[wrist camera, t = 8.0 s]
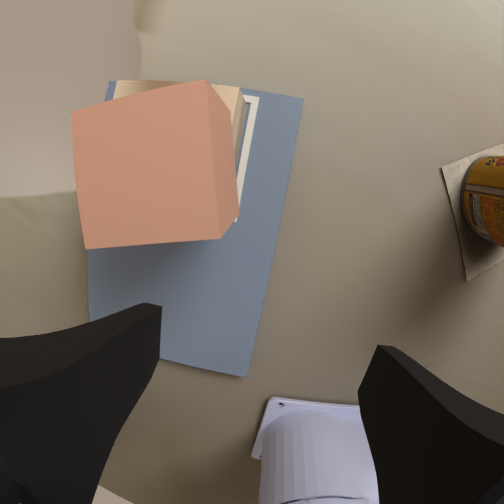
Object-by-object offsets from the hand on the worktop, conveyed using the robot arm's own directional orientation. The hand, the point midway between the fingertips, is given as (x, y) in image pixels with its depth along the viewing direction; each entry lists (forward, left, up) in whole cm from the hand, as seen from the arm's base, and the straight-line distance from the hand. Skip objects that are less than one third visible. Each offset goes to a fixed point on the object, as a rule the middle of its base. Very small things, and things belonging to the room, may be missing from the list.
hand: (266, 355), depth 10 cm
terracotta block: (+5, -5, -5) cm, 8 cm away
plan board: (+6, -1, -10) cm, 12 cm away
